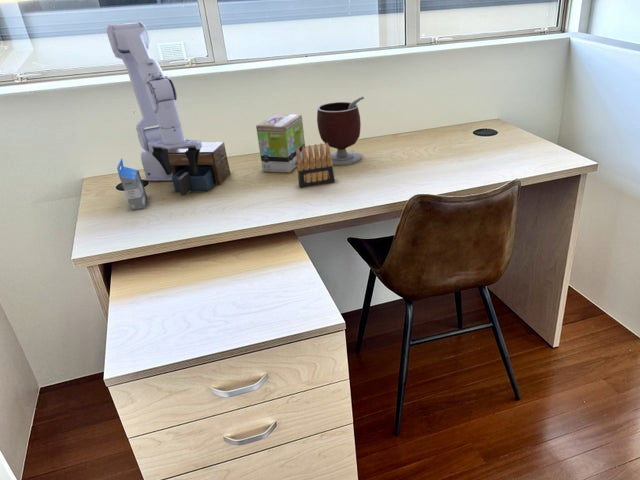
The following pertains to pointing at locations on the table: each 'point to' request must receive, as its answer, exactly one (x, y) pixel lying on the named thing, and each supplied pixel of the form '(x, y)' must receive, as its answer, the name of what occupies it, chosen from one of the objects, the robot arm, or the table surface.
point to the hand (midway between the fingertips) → (182, 173)
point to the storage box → (193, 179)
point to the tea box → (280, 142)
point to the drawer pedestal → (203, 159)
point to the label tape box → (132, 186)
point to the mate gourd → (340, 129)
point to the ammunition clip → (314, 167)
